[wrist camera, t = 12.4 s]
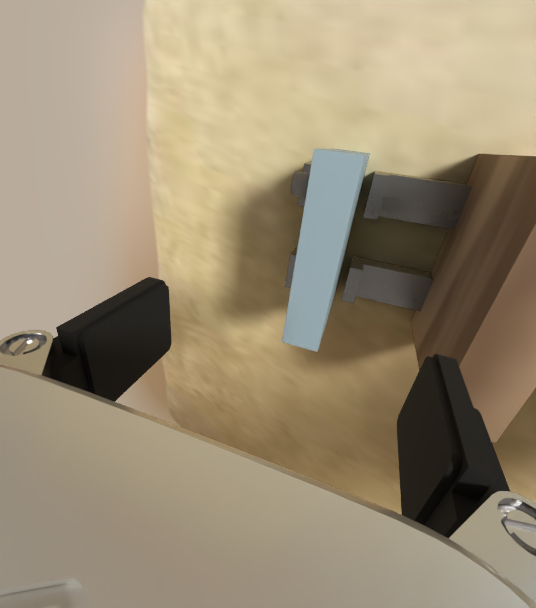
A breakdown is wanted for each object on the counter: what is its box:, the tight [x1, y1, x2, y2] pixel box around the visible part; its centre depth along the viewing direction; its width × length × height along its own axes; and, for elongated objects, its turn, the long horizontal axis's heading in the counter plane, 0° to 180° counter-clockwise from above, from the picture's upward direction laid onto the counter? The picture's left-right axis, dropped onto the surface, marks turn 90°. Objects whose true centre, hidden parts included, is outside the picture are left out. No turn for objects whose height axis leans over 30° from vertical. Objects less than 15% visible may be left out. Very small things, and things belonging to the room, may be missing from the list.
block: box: [282, 149, 370, 352], centre depth 22 cm, size 4×12×10 cm, turn 173°
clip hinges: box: [285, 162, 472, 311], centre depth 25 cm, size 12×10×3 cm
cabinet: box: [411, 154, 536, 443], centre depth 19 cm, size 4×14×12 cm, turn 173°
